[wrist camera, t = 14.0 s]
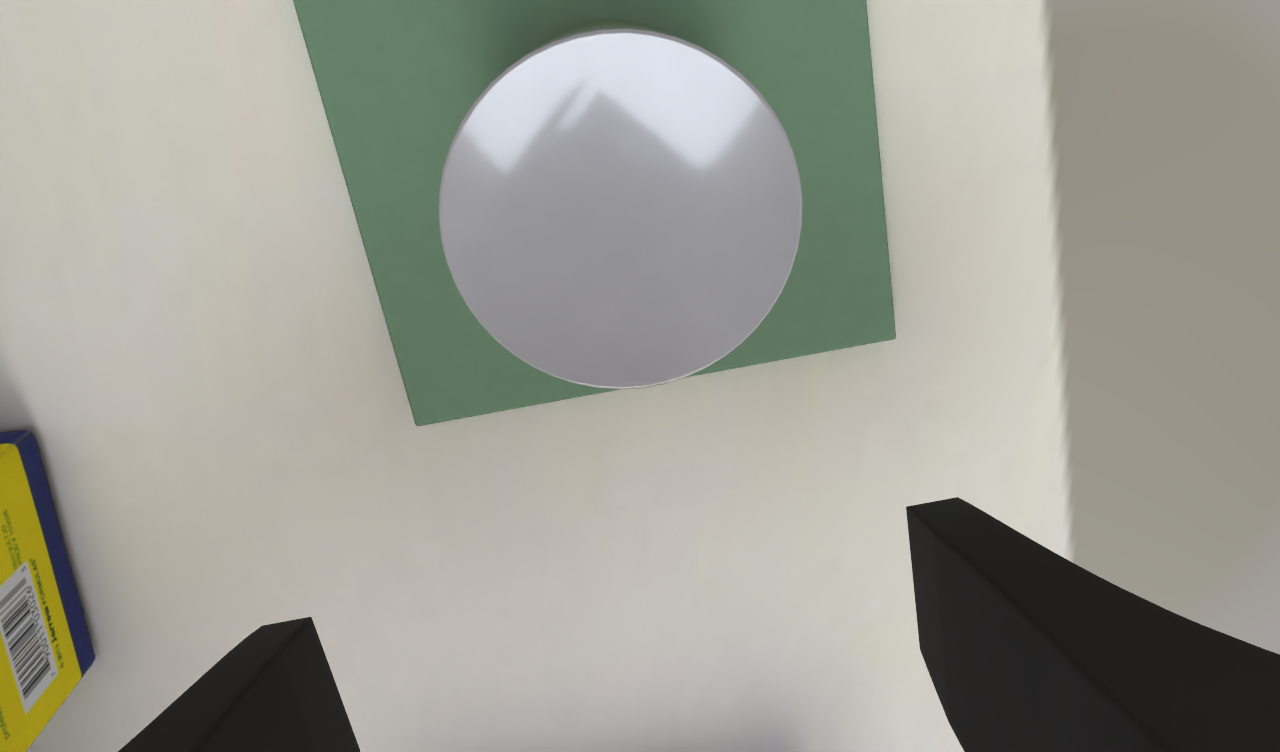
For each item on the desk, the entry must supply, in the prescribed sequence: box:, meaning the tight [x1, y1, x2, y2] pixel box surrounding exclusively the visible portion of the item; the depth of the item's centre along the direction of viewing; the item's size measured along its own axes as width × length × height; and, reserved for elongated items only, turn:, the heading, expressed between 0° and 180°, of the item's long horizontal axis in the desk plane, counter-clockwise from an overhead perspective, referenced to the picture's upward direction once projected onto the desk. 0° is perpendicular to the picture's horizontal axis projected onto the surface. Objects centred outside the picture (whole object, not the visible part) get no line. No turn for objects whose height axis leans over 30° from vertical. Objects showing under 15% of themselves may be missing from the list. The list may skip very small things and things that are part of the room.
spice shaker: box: [439, 20, 803, 389], centre depth 15 cm, size 4×4×7 cm
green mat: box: [293, 0, 896, 426], centre depth 19 cm, size 10×10×1 cm
